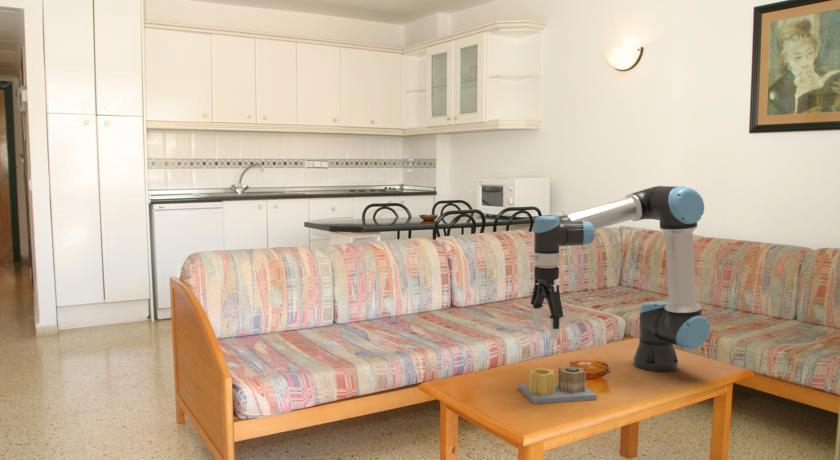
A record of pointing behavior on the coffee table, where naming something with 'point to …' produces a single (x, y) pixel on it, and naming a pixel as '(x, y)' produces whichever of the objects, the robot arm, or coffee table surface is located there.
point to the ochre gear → (541, 381)
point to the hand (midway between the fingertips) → (546, 333)
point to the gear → (572, 380)
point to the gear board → (558, 394)
